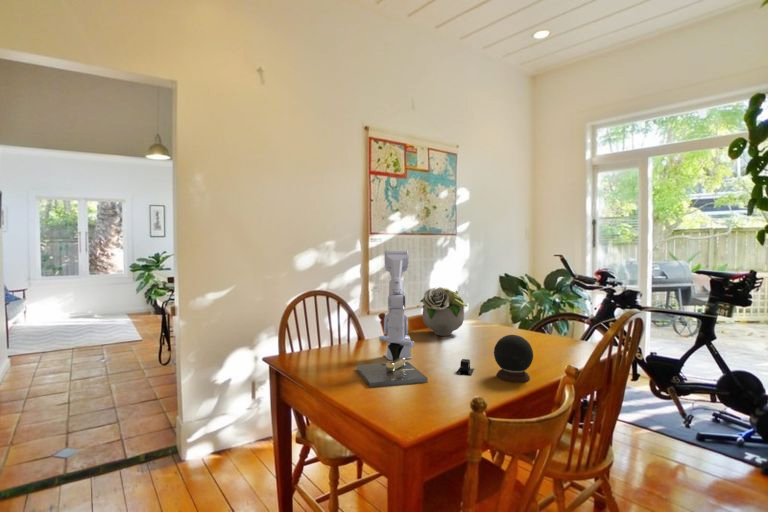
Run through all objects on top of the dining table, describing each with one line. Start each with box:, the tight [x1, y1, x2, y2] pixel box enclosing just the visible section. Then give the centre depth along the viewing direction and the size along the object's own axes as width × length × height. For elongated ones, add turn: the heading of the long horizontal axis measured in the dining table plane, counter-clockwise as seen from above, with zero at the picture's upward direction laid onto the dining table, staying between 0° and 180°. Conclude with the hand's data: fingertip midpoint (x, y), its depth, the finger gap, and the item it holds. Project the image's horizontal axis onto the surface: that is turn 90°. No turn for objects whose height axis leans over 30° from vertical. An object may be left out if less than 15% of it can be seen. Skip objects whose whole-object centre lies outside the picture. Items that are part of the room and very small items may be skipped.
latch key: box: [385, 357, 406, 372], centre depth 150 cm, size 11×3×2 cm, turn 147°
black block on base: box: [455, 358, 475, 377], centre depth 153 cm, size 12×7×5 cm, turn 160°
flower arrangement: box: [420, 287, 469, 337], centre depth 214 cm, size 25×25×24 cm
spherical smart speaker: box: [493, 334, 534, 384], centre depth 146 cm, size 13×13×15 cm
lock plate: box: [356, 361, 429, 388], centre depth 147 cm, size 20×20×2 cm
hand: (396, 363), depth 153 cm, fingers closed, pressing on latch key
